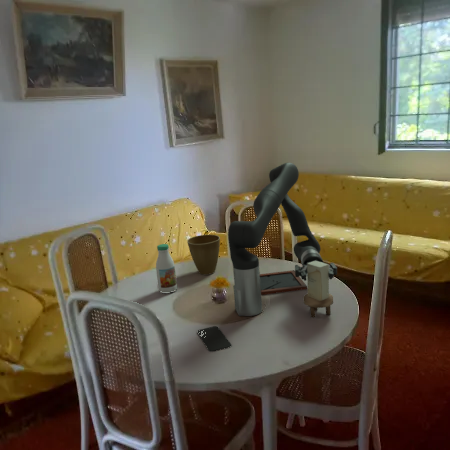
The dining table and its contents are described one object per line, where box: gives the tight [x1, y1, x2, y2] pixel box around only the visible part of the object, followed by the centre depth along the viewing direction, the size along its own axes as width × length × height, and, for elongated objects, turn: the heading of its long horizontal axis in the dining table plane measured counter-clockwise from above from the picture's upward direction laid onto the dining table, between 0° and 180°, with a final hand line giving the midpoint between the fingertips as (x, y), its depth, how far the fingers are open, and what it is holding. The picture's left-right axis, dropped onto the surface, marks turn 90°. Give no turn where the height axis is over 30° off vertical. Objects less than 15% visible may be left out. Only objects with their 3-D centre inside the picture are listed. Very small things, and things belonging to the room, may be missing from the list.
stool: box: [302, 292, 334, 319], centre depth 153 cm, size 10×10×6 cm
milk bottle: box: [155, 243, 178, 292], centre depth 184 cm, size 8×8×20 cm
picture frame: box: [260, 269, 308, 296], centre depth 184 cm, size 20×2×25 cm
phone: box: [197, 325, 232, 352], centre depth 143 cm, size 7×1×15 cm
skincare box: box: [306, 260, 330, 301], centre depth 151 cm, size 6×4×12 cm
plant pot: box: [186, 234, 221, 276], centre depth 203 cm, size 15×15×16 cm
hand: (318, 277), depth 149 cm, fingers open, 8 cm apart
